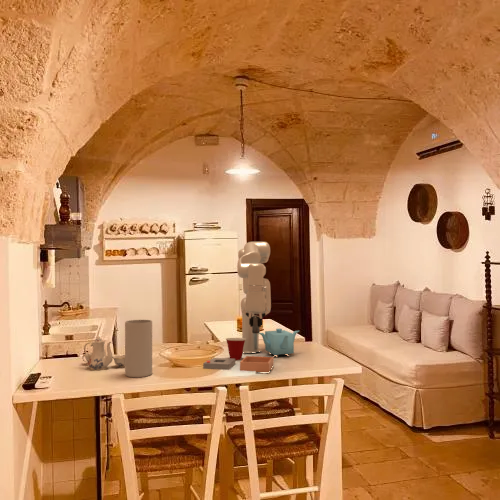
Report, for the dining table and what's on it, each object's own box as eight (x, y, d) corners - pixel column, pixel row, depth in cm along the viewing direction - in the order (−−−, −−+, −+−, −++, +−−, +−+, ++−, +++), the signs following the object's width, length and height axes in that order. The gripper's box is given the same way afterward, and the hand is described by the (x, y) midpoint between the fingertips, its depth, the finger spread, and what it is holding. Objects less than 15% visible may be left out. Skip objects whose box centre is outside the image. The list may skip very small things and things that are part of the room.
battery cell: (253, 332, 239) (252, 314, 239) (260, 332, 239) (260, 314, 239) (251, 333, 236) (251, 315, 236) (258, 333, 235) (258, 315, 235)
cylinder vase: (135, 370, 236) (135, 319, 236) (157, 372, 232) (157, 320, 232) (119, 376, 225) (119, 322, 225) (142, 379, 220) (142, 323, 220)
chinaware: (135, 368, 248) (136, 335, 250) (118, 372, 232) (120, 337, 234) (87, 365, 255) (89, 333, 257) (67, 369, 239) (69, 335, 241)
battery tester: (210, 364, 248) (210, 356, 249) (235, 365, 246) (235, 357, 246) (203, 370, 236) (203, 361, 236) (229, 371, 233) (229, 362, 233)
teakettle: (271, 350, 284) (271, 325, 284) (301, 353, 276) (300, 327, 276) (257, 356, 267) (256, 330, 268) (288, 359, 259) (288, 332, 259)
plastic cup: (249, 359, 260) (249, 337, 260) (240, 363, 250) (240, 340, 251) (231, 357, 265) (231, 335, 265) (222, 361, 255) (222, 338, 255)
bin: (246, 365, 245) (246, 355, 245) (273, 367, 242) (273, 357, 242) (240, 372, 232) (240, 361, 232) (269, 373, 229) (268, 363, 229)
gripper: (273, 288, 239) (273, 325, 239) (241, 288, 243) (241, 324, 243) (271, 289, 232) (271, 328, 232) (237, 289, 236) (237, 327, 235)
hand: (255, 326), depth 237 cm, fingers closed on battery cell, 3 cm apart
